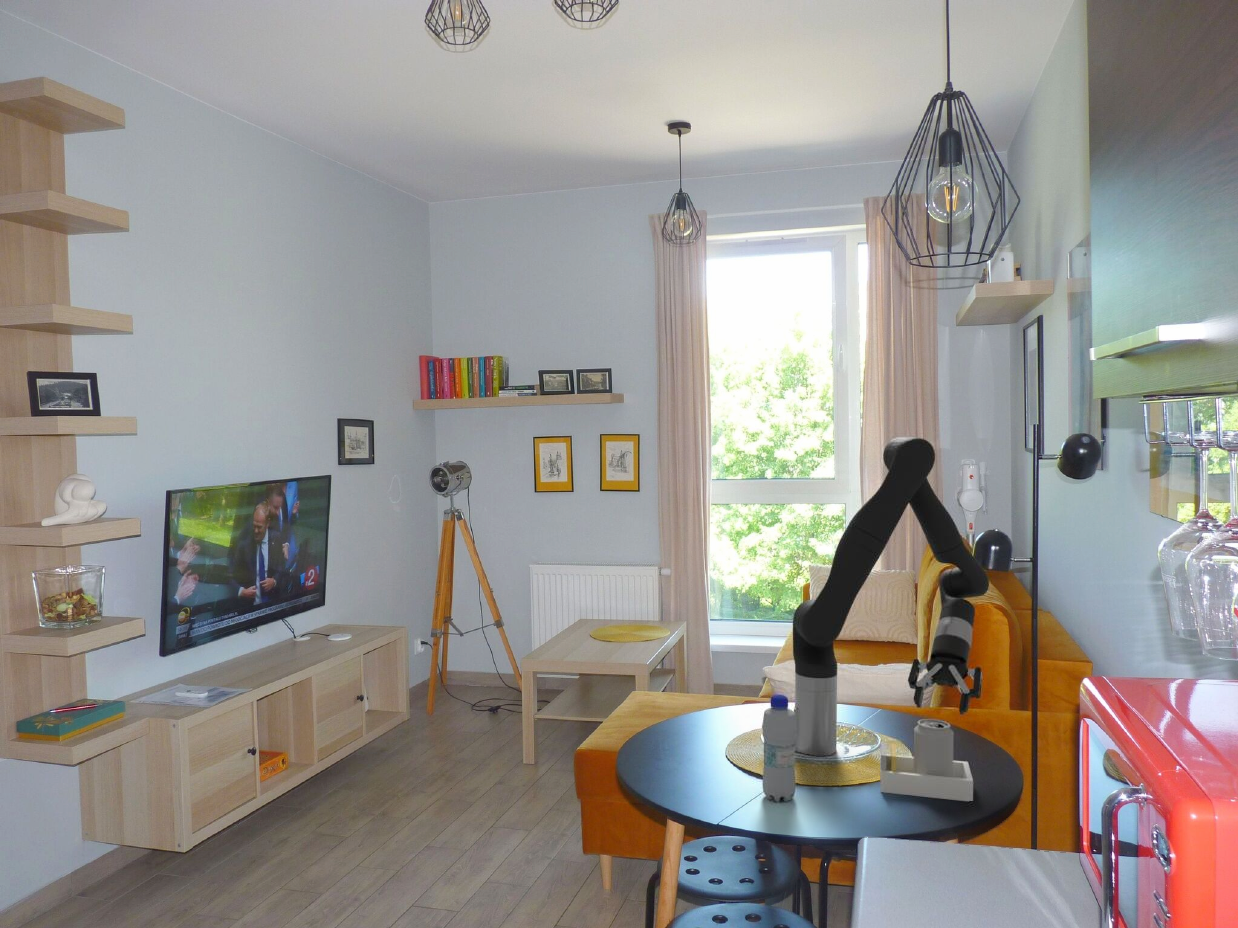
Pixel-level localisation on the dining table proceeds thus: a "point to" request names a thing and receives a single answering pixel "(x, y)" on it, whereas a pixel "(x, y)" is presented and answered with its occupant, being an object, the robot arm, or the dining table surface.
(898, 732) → the dining table surface
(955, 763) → the white open box
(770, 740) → the bottle
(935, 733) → the can
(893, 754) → the pusher paddle
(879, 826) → the dining table surface
